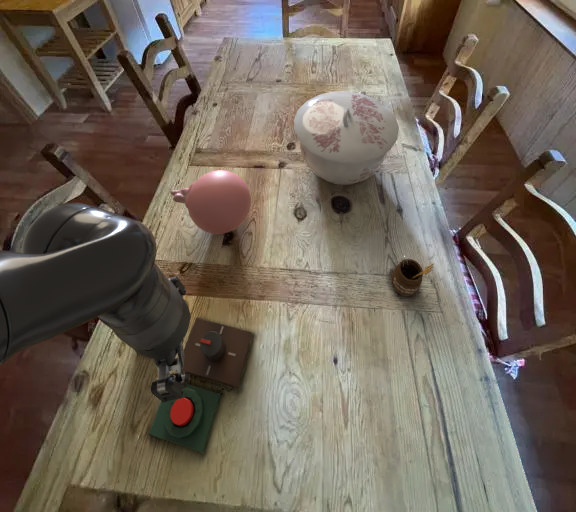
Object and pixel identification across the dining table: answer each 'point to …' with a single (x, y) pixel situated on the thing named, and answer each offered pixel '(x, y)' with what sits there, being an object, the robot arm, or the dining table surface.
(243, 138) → the dining table surface
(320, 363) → the dining table surface
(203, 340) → the knob
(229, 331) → the panel
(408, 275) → the utensil holder
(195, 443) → the button box
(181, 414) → the button
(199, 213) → the balloon
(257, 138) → the dining table surface
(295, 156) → the dining table surface
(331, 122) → the chamber pot
